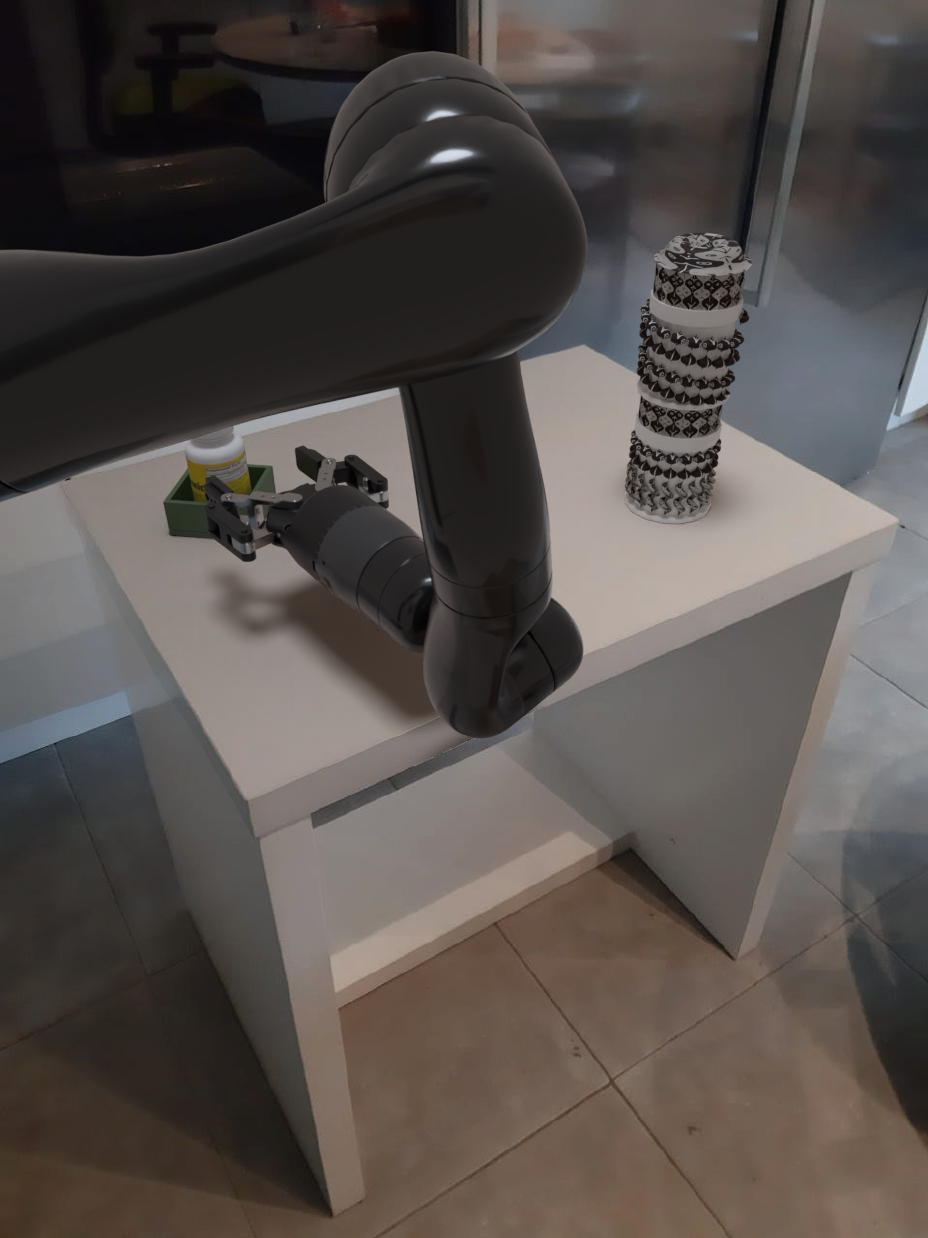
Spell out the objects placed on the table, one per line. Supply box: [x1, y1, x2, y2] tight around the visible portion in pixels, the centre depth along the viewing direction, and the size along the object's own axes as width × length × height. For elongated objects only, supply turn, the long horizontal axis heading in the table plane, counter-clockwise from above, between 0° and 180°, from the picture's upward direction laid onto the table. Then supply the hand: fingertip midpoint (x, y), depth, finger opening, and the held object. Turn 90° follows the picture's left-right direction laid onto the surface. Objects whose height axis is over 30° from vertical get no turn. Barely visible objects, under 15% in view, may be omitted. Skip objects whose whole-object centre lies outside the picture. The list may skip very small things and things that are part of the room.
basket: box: [162, 463, 277, 539], centre depth 93 cm, size 8×8×4 cm
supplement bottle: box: [184, 426, 252, 502], centre depth 91 cm, size 5×5×10 cm
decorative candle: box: [624, 232, 753, 525], centre depth 89 cm, size 9×9×25 cm
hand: (255, 470), depth 84 cm, fingers open, 8 cm apart
